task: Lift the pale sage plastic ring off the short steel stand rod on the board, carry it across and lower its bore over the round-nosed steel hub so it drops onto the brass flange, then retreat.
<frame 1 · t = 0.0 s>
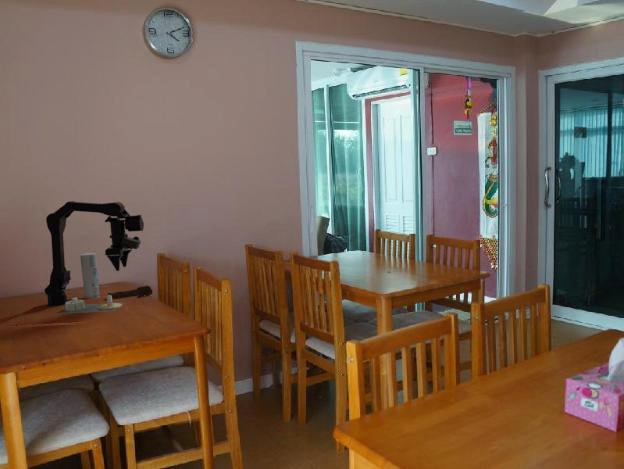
hand: (121, 268, 239), 15 cm above the table, fingers open, 9 cm apart
ring: (75, 309, 230), point 1 cm above the table, touching rod board
spray can: (92, 298, 254), on the table
hand tool: (130, 298, 251), on the table
rod board: (93, 310, 230), on the table
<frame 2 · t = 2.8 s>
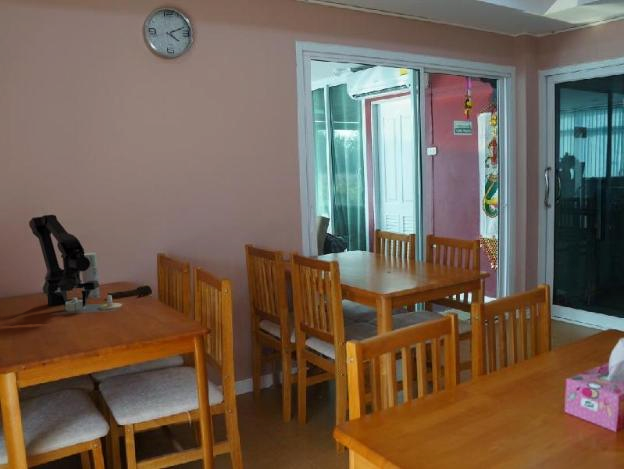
hand: (75, 307, 230), 2 cm above the table, fingers closed on ring, 7 cm apart
ring: (75, 309, 230), point 1 cm above the table, touching gripper, rod board
everything else where it was.
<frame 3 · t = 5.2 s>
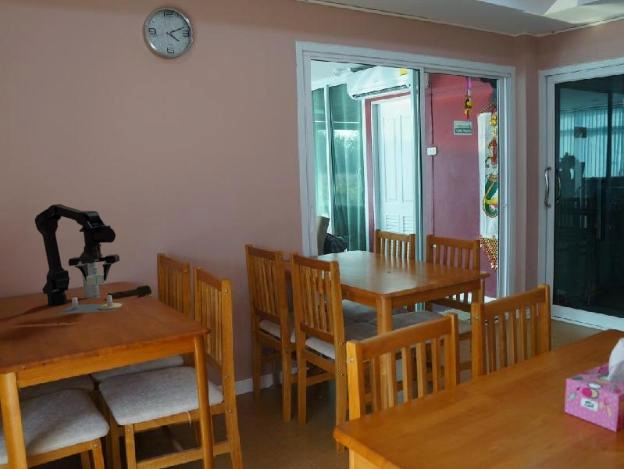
hand: (96, 281, 228), 12 cm above the table, fingers closed on ring, 7 cm apart
ring: (96, 283, 228), point 11 cm above the table, touching gripper
everything else where it was.
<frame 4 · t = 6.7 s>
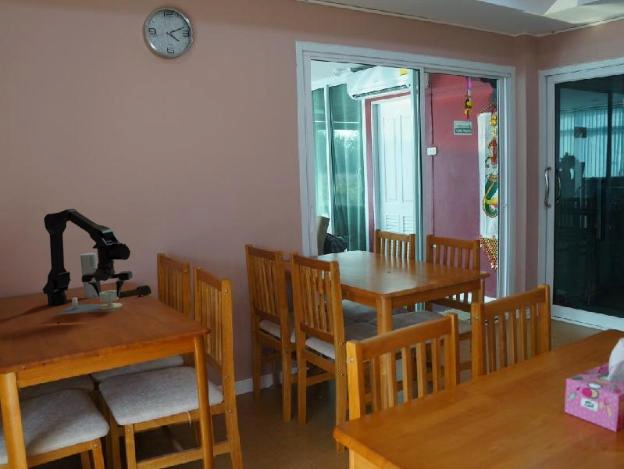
hand: (109, 297, 230), 5 cm above the table, fingers closed on ring, 7 cm apart
ring: (109, 299, 230), point 4 cm above the table, touching gripper
everything else where it was.
when the fingers open (4 cm above the table, at t = 7.9 s): ring drops 2 cm, resting on rod board.
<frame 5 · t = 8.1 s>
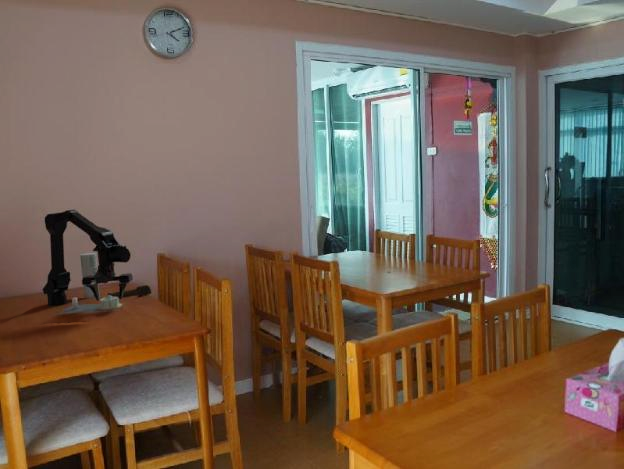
hand: (109, 300, 230), 4 cm above the table, fingers open, 9 cm apart
ring: (109, 305, 230), point 2 cm above the table, touching rod board
everything else where it was.
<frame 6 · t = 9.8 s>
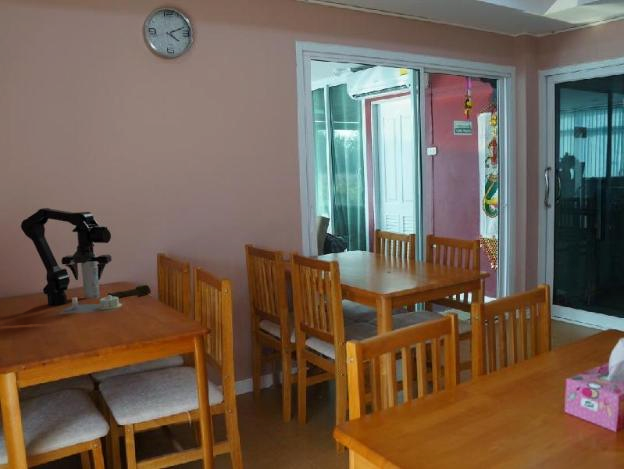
hand: (88, 279, 235), 11 cm above the table, fingers open, 9 cm apart
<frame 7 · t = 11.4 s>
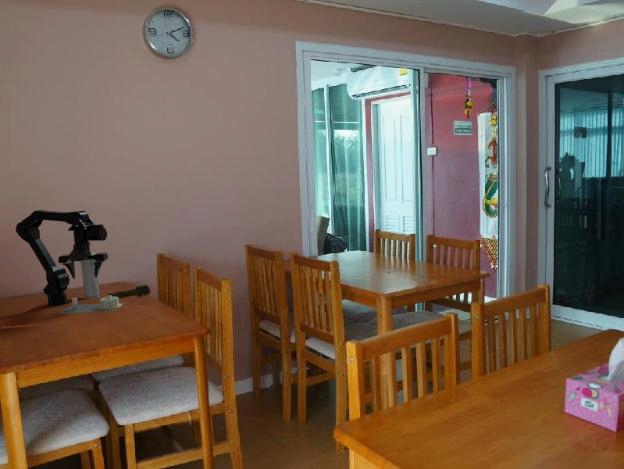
hand: (85, 278, 237), 12 cm above the table, fingers open, 9 cm apart
at the end: ring 0.1 cm from the target spot on the rod board, point 1.6 cm above the rod board's base; the gripper is holding nothing; ring tilted 0° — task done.
